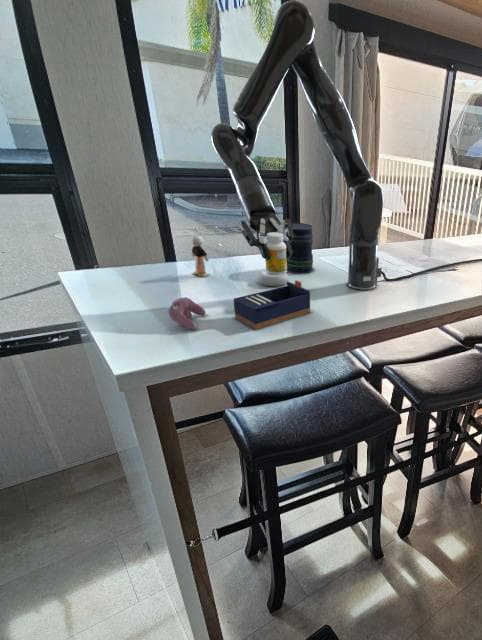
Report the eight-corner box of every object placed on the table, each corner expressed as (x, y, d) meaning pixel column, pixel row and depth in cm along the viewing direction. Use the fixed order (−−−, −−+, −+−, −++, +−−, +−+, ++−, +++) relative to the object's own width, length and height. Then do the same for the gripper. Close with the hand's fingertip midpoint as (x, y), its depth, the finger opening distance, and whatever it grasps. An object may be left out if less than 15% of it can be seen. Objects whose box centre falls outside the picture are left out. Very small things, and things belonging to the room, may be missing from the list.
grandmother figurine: (188, 274, 135) (181, 233, 129) (197, 271, 139) (191, 231, 132) (206, 279, 133) (201, 238, 127) (215, 276, 136) (210, 236, 130)
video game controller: (193, 319, 112) (176, 296, 108) (208, 313, 111) (191, 289, 107) (179, 335, 103) (161, 310, 100) (195, 328, 103) (177, 303, 99)
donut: (251, 284, 133) (280, 289, 132) (250, 274, 132) (279, 278, 130) (265, 276, 142) (293, 280, 141) (265, 265, 140) (293, 270, 139)
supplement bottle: (262, 270, 112) (259, 232, 107) (279, 267, 116) (277, 230, 111) (273, 275, 109) (271, 237, 104) (291, 272, 113) (289, 235, 108)
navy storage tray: (289, 303, 124) (288, 276, 120) (310, 312, 120) (310, 285, 115) (235, 318, 111) (232, 289, 107) (256, 329, 107) (253, 300, 103)
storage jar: (318, 269, 153) (318, 227, 145) (299, 275, 145) (298, 230, 138) (298, 263, 157) (297, 221, 149) (278, 268, 150) (276, 224, 142)
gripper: (231, 190, 103) (257, 253, 102) (284, 190, 111) (308, 247, 111) (224, 209, 109) (249, 268, 108) (275, 207, 117) (298, 262, 116)
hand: (279, 257), depth 109 cm, fingers closed on supplement bottle, 5 cm apart
